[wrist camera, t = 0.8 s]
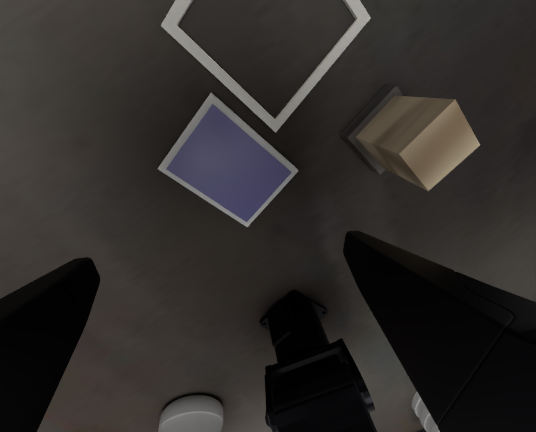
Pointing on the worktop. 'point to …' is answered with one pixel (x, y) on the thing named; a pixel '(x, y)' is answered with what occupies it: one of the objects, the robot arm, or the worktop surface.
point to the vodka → (192, 415)
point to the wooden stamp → (411, 136)
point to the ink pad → (227, 163)
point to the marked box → (171, 27)
